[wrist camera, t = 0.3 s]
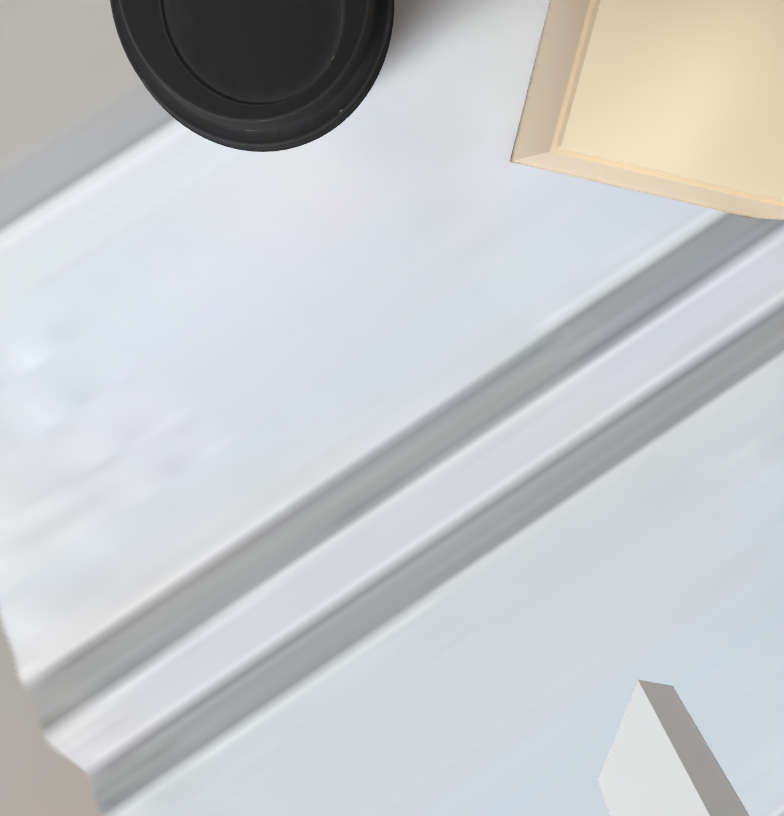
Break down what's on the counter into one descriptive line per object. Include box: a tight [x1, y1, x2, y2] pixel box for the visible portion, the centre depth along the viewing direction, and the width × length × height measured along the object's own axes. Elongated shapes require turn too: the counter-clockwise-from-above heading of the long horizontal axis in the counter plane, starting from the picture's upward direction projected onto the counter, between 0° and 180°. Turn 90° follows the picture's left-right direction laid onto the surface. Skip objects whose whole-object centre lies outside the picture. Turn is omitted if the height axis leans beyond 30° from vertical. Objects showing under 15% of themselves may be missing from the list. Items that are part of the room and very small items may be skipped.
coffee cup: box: [110, 0, 394, 152], centre depth 28 cm, size 9×9×15 cm
